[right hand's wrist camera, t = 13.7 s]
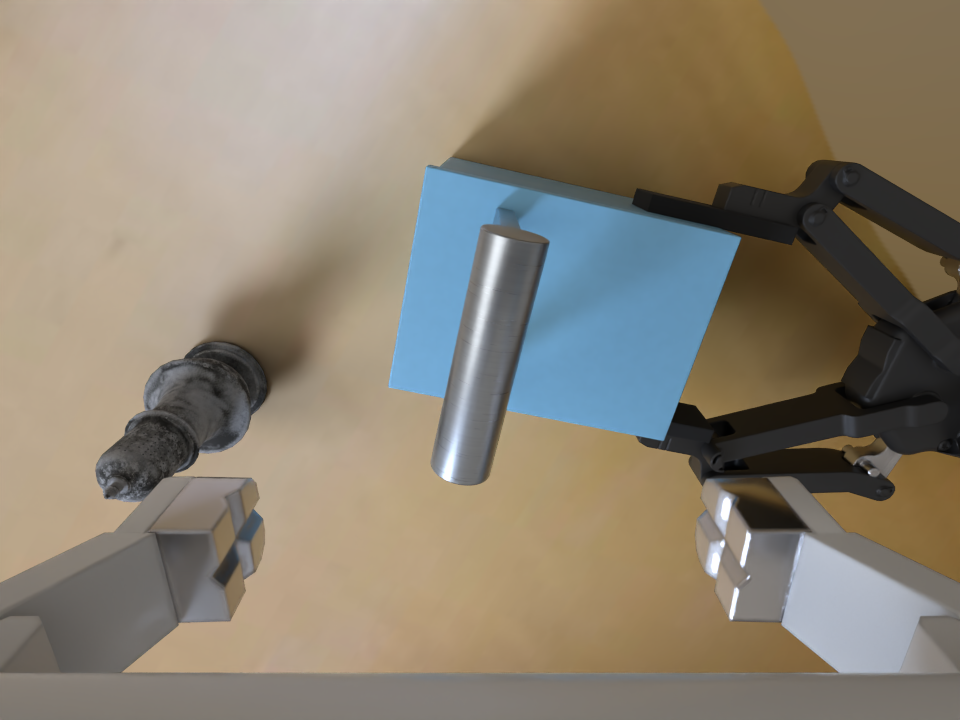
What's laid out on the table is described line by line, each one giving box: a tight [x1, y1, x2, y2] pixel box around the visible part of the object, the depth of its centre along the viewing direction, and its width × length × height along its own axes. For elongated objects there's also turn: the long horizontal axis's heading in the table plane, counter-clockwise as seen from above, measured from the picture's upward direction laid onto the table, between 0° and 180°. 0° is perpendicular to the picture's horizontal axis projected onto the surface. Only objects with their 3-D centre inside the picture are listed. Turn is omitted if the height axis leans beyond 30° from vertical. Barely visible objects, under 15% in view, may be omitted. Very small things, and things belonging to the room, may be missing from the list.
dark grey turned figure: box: [96, 342, 267, 502], centre depth 30 cm, size 6×6×12 cm
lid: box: [389, 165, 741, 485], centre depth 21 cm, size 12×9×8 cm
